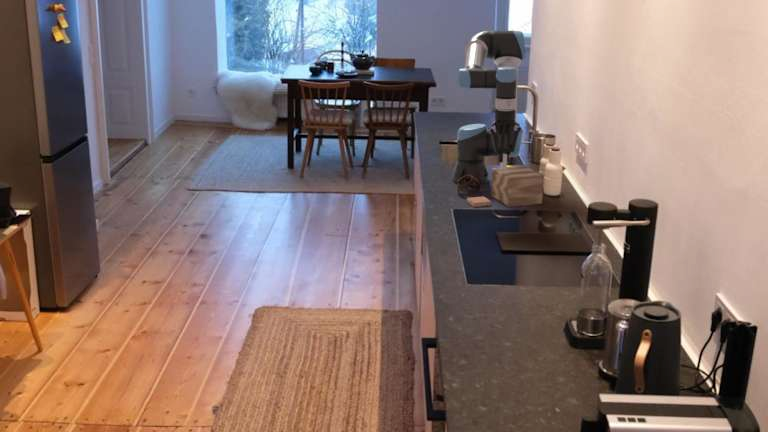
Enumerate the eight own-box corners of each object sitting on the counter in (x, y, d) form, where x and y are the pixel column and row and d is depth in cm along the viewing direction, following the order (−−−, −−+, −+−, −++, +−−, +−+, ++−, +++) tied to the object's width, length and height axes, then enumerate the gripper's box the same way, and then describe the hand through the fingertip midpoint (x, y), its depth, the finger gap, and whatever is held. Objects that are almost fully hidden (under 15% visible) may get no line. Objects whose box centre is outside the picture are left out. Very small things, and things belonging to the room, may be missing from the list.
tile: (483, 196, 332) (483, 201, 332) (466, 198, 330) (466, 203, 330) (491, 201, 325) (490, 206, 326) (474, 203, 323) (473, 208, 324)
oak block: (491, 195, 338) (491, 168, 334) (523, 192, 342) (524, 165, 338) (508, 206, 323) (509, 178, 320) (542, 203, 327) (543, 175, 324)
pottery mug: (485, 197, 338) (476, 181, 334) (463, 206, 340) (454, 190, 336) (483, 181, 348) (474, 165, 344) (461, 190, 350) (453, 175, 346)
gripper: (493, 112, 314) (491, 174, 322) (525, 109, 318) (523, 171, 325) (485, 108, 321) (483, 169, 329) (516, 106, 325) (514, 166, 332)
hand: (503, 170), depth 327 cm, fingers closed
